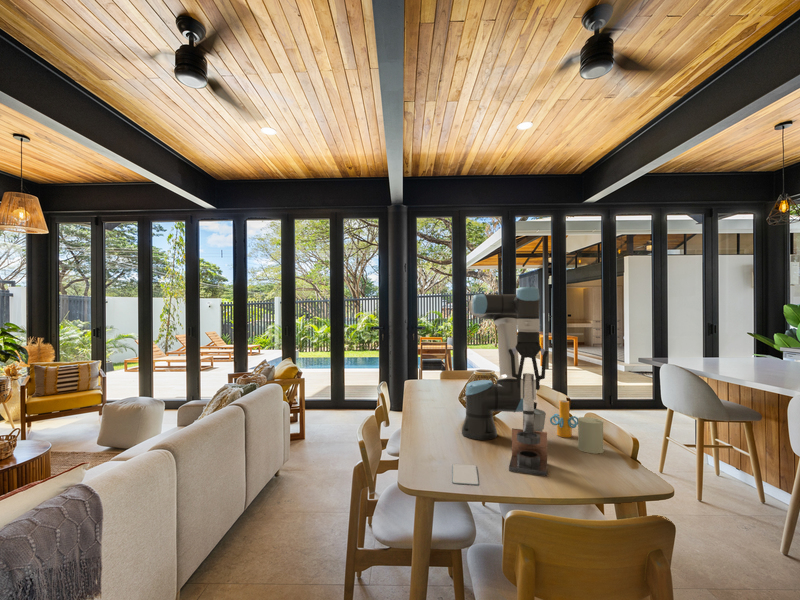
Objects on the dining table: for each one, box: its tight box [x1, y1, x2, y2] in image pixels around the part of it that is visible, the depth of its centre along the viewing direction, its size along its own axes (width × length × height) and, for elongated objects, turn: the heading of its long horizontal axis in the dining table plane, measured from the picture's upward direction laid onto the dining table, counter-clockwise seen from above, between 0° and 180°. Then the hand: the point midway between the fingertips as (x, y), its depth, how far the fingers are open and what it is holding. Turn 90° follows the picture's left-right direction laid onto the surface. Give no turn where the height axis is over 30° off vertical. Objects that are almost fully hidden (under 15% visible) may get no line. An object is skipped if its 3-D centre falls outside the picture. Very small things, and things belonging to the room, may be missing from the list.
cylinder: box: [549, 399, 579, 439], centre depth 170 cm, size 12×10×15 cm
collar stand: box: [508, 428, 548, 477], centre depth 135 cm, size 12×12×11 cm
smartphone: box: [451, 463, 480, 487], centre depth 128 cm, size 8×1×15 cm
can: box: [577, 416, 605, 455], centre depth 153 cm, size 9×9×12 cm
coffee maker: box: [534, 401, 547, 432], centre depth 153 cm, size 15×9×18 cm, turn 149°
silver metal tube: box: [522, 372, 535, 434], centre depth 135 cm, size 4×4×20 cm
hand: (528, 398), depth 135 cm, fingers closed on silver metal tube, 3 cm apart
